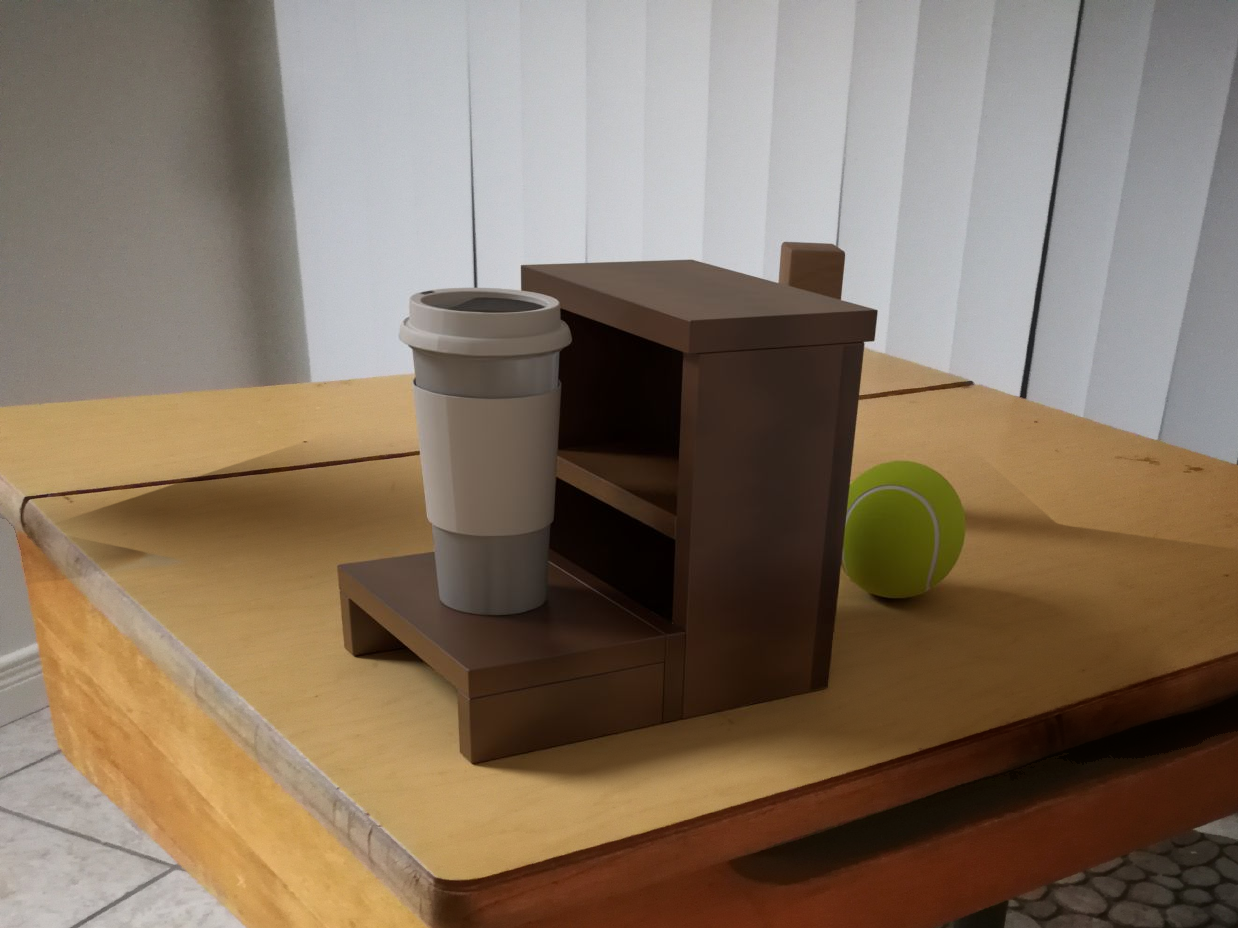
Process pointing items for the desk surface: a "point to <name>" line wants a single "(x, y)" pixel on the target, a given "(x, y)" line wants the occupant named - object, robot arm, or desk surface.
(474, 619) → the shelf
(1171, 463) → the desk surface
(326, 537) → the desk surface
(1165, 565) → the desk surface
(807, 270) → the wooden block
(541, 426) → the cup
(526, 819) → the desk surface
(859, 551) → the tennis ball
